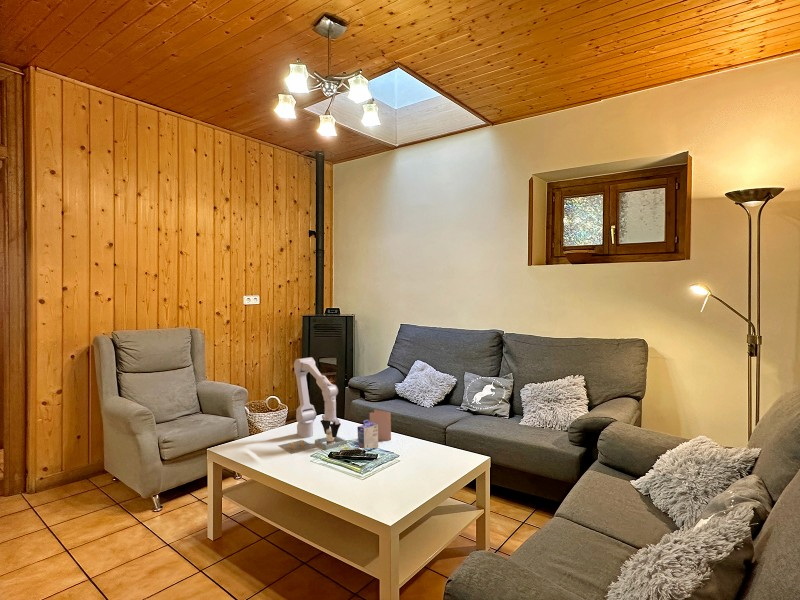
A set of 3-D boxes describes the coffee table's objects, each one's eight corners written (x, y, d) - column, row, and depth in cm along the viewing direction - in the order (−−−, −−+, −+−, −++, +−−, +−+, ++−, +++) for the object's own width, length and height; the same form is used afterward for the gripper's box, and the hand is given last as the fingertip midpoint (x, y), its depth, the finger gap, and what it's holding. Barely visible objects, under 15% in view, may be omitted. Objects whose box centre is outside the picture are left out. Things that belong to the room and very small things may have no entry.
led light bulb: (325, 444, 235) (324, 429, 235) (332, 443, 238) (331, 428, 238) (328, 446, 232) (328, 431, 232) (335, 445, 234) (335, 429, 234)
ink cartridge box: (371, 445, 237) (371, 417, 237) (378, 447, 233) (378, 419, 233) (357, 450, 230) (356, 421, 230) (364, 452, 226) (364, 423, 226)
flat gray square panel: (277, 448, 234) (277, 440, 234) (302, 442, 242) (302, 435, 242) (291, 456, 221) (291, 448, 221) (317, 450, 230) (316, 442, 230)
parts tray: (314, 446, 236) (314, 439, 236) (334, 441, 243) (334, 435, 243) (326, 452, 227) (326, 445, 227) (346, 447, 234) (346, 440, 234)
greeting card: (391, 439, 246) (391, 412, 245) (383, 443, 240) (383, 415, 239) (375, 436, 252) (375, 409, 252) (366, 439, 246) (366, 412, 246)
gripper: (316, 407, 238) (316, 433, 238) (330, 413, 227) (331, 440, 227) (328, 405, 242) (328, 430, 243) (342, 410, 231) (343, 437, 231)
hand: (330, 435), depth 235 cm, fingers open, 7 cm apart
